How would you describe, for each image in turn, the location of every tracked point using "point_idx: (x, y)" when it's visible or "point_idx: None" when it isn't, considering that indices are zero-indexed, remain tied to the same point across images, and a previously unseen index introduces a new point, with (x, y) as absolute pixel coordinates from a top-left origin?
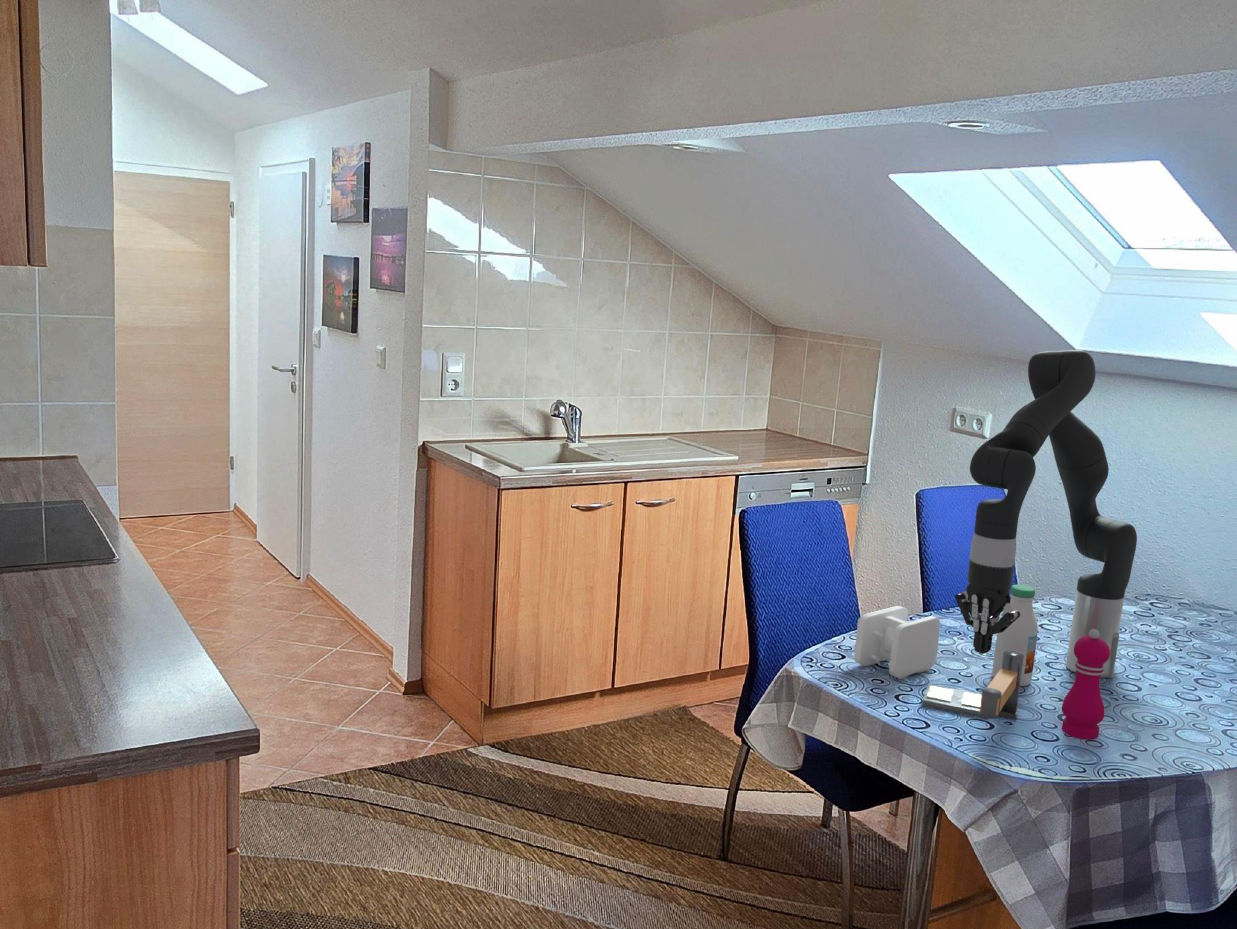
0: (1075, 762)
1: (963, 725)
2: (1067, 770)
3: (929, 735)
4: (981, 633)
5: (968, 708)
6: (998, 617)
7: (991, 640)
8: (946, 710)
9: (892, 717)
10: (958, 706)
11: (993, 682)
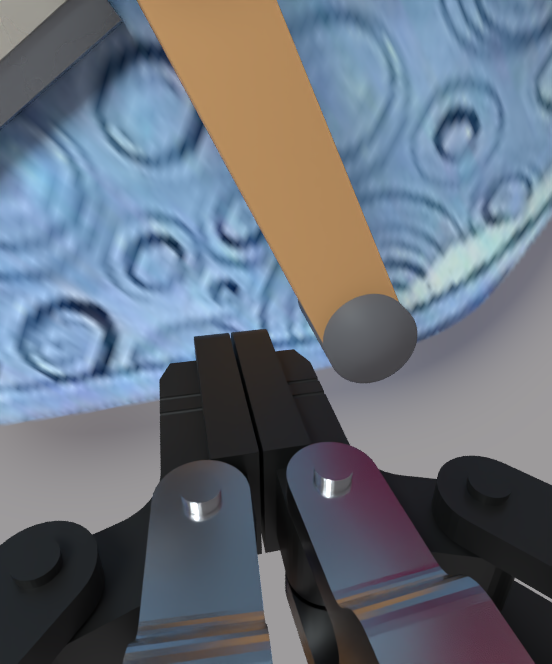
0: (543, 34)
1: (141, 188)
2: (544, 125)
3: (167, 358)
4: (273, 540)
5: (43, 73)
6: (504, 642)
7: (332, 418)
8: None
9: (3, 383)
10: (10, 106)
11: (258, 192)
